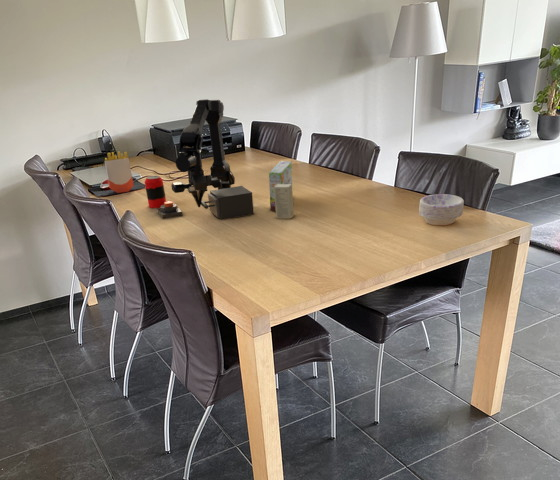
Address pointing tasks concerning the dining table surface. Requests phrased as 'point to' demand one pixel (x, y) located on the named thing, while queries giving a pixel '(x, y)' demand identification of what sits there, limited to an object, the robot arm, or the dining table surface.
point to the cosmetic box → (284, 201)
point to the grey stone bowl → (441, 208)
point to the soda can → (155, 191)
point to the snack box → (279, 178)
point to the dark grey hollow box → (234, 202)
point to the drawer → (212, 205)
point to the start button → (168, 204)
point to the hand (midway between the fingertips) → (199, 207)
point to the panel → (169, 211)
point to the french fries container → (119, 172)
